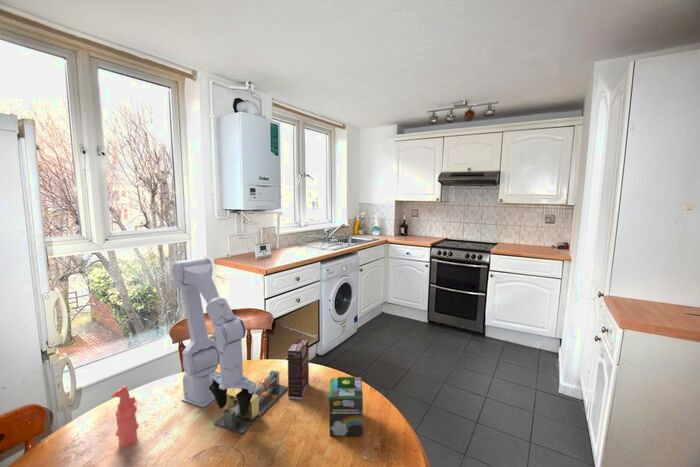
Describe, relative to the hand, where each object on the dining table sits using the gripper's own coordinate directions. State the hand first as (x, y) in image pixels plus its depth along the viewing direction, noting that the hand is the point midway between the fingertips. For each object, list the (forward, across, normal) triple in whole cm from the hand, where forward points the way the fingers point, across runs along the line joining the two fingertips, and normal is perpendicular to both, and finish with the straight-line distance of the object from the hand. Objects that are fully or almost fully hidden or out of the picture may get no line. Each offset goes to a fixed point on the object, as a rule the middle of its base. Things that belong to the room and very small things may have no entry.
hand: (233, 410), depth 87 cm
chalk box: (+4, +29, +12) cm, 32 cm away
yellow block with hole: (+4, 0, +4) cm, 6 cm away
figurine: (+4, -21, -15) cm, 26 cm away
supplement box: (+4, +9, +20) cm, 22 cm away
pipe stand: (+4, 0, +9) cm, 10 cm away
